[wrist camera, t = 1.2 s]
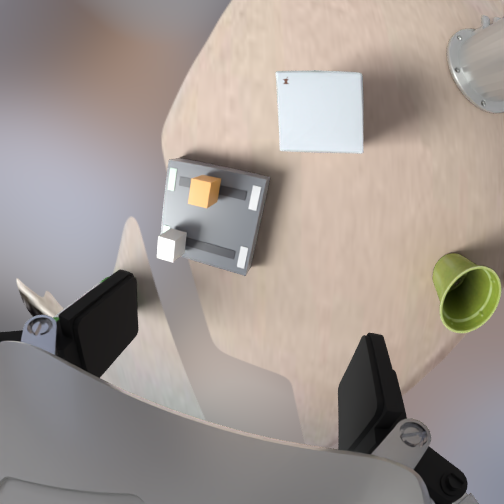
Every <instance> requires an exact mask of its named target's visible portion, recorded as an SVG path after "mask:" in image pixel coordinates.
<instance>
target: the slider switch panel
mask: <svg viewBox="0 0 504 504" xmlns="http://www.w3.org/2000/svg"><path fill="white" fill-rule="evenodd" d="M201 175H207V176H211V177H216V178H221V183H220V189H219V195H218V201H217V203H215V204H213V205H212V206H210V207H208V208H203V207H199V206H195V205H191V204H188V199H189V192H190V185H191V178H194V177H198V176H201ZM269 182H270V177H269V176H264V175H260V174H256V173H251V172H247V171H242V170H238V169H233V168H229V167H224V166H219V165H214V164H209V163H204V162H199V161H193V160H188V159H182V158H176V159H170V160H169V163H168V171H167V178H166V187H165V196H164V204H163V214H162V225H161V234H163V233H164V232H166V231H167V230H169V229H171V228H173V229H176V230H180V231H183V232H187V236H186V245H185V253H184V254H183V255H181V256H180V257H184V258H187V259H190V260H194V261H197V262H200V263H204V264H207V265H210V266H214V267H217V268H220V269H224V270H227V271H230V272H234V273H237V274H241V275H244V276H246V274H247V273H248V271H249V269H250V267H251V264H252V259H253V255H254V250H255V246H256V241H257V236H258V232H259V227H260V223H261V218H262V214H263V209H264V205H265V200H266V195H267V191H268V186H269Z"/></svg>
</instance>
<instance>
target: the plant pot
mask: <svg viewBox="0 0 504 504" xmlns="http://www.w3.org/2000/svg"><path fill="white" fill-rule="evenodd" d="M460 279H461V281H460V282H459V283H458V284H457V285H454V284H455V283H457V282H458V281H459V280H460ZM433 282H434V285H435V288H436V291H437V294H438V297H439V300H440V317H441V320H442V323H443V324H444V326H445V327H446V328H447V329H449V330H450V331H452V332H455V333H467V332H471V331H473V330H475V329H477V328H479V327H480V326H482V325H483V324H484V323H485V322H486V321H488V320H489V318H490V317H491V316H492V314H493V313H494V311H495V309H496V308H497V305H498V303H499V300H500V296H501V283H500V279H499V277H498V275H497V274H496V272H495V271H494V270H492V269H491V268H489V267H486V266H479V265H476V264H475V263H473V262H471V261H470V260H468V259H466V258H465V257H463V256H462V255H460V254H456V253H453V254H447V255H445V256H443V257H442V258H441V259H440V260H439V261H438V262H437V263H436V265H435V267H434V272H433Z"/></svg>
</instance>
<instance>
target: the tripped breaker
mask: <svg viewBox="0 0 504 504" xmlns="http://www.w3.org/2000/svg"><path fill="white" fill-rule="evenodd" d="M220 183H221V178H216V177H211V176H207V175H201V176H198V177H194V178H191V185H190V192H189V199H188V204H191V205H195V206H199V207H203V208H208V207H210V206H212V205H213V204H215V203H217V201H218V195H219V189H220Z"/></svg>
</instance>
